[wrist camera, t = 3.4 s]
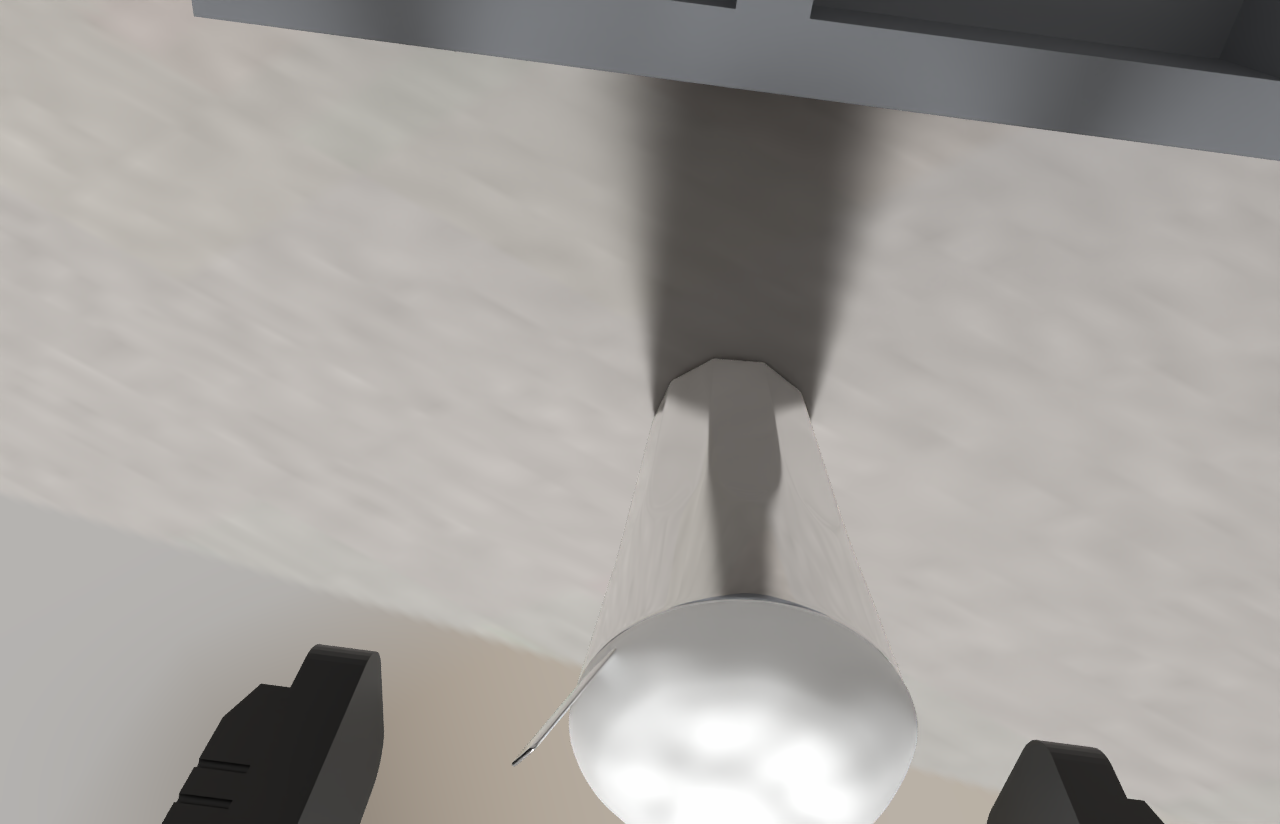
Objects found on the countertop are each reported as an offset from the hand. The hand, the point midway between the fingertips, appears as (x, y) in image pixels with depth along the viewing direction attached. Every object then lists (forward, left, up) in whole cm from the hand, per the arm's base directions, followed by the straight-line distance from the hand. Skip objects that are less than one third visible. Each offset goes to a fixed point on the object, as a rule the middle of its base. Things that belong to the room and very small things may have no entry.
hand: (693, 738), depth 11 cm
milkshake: (0, 0, -9) cm, 9 cm away
